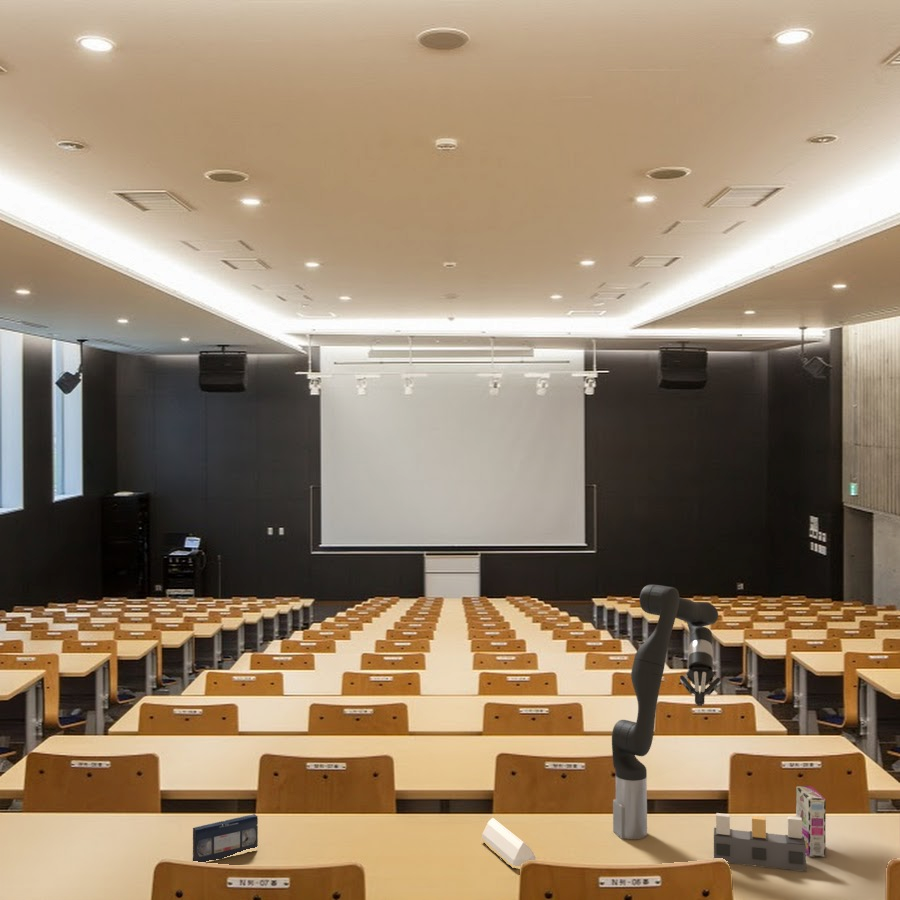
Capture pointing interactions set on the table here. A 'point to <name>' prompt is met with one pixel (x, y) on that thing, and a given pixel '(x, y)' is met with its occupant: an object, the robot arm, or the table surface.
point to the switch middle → (759, 827)
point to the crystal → (507, 843)
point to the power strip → (761, 850)
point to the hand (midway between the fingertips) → (699, 704)
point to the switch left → (723, 824)
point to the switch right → (795, 827)
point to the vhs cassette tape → (224, 838)
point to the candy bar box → (812, 819)
